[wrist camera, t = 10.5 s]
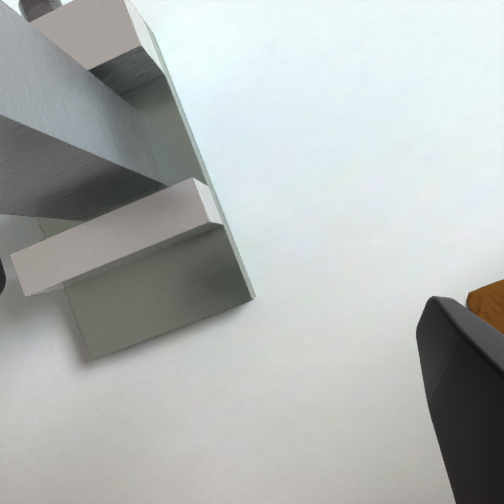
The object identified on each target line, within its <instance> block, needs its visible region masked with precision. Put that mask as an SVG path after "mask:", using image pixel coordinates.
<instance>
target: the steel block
mask: <svg viewBox="0 0 504 504" xmlns="http://www.w3.org/2000/svg"><path fill="white" fill-rule="evenodd" d="M162 185H164V181H163V178H162V176H161V173H160V171H159V168H158V165H157V163H156V160H155V157H154V155H153V152H152V149H151V147H150V144H149V142H148V139H147V136H146V134H145V131H144V128H143V126H142V123H141V120H140V118H139V115H138V113H137V110H136V109H135V108H134V107H132V106H131V105H130V104H129V103H127V102H126V101H125V100H124V99H122V98H121V97H120V96H119V95H118V94H116V93H115V92H114V91H113V90H111V89H110V88H109V87H108V86H106V85H105V84H104V83H103V82H102V81H100V80H99V79H98V78H97V77H95V76H94V75H93V74H92V73H90V72H89V71H88V70H87V69H86V68H84V67H83V66H82V65H81V64H79V63H78V62H77V61H76V60H74V59H73V58H72V57H71V56H70V55H68V54H67V53H66V52H65V51H63V50H62V49H61V48H60V47H58V46H57V45H56V44H55V43H54V42H52V41H51V40H50V39H49V38H47V37H46V36H45V35H44V34H42V33H41V32H40V31H39V30H38V29H36V28H35V27H34V26H33V25H31V24H30V23H29V22H28V21H26V20H25V19H24V18H23V17H22V16H20V15H19V14H18V13H17V12H15V11H14V10H13V9H12V8H10V7H9V6H8V5H7V4H6V3H4V2H3V1H2V0H0V214H9V215H20V216H31V217H42V218H53V219H64V220H75V221H77V220H80V219H82V218H85V217H87V216H89V215H92V214H94V213H97V212H99V211H101V210H104V209H106V208H109V207H111V206H113V205H116V204H118V203H121V202H123V201H126V200H128V199H130V198H133V197H135V196H138V195H140V194H142V193H145V192H147V191H150V190H152V189H154V188H157V187H159V186H162Z"/></svg>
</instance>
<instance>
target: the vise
mask: <svg viewBox="0 0 504 504" xmlns="http://www.w3.org/2000/svg"><path fill="white" fill-rule="evenodd" d="M19 9H20V12H21V15H22V17H23V18H24V19H25V20H26V21H28V22H29V23H30V24H31V25H33V26H34V27H35V28H36V29H38V30H39V31H40V32H41V33H42V34H44V35H45V36H46V37H47V38H49V39H50V40H51V41H52V42H54V43H55V44H56V45H57V46H58V47H60V48H61V49H62V50H63V51H65V52H66V53H67V54H68V55H70V56H71V57H72V58H73V59H74V60H76V61H77V62H78V63H79V64H81V65H82V66H83V67H84V68H86V69H87V70H88V71H89V72H90V73H92V74H93V75H94V76H95V77H97V78H98V79H99V80H100V81H102V82H103V83H104V84H105V85H106V86H108V87H109V88H110V89H111V90H113V91H114V92H115V93H116V94H118V95H119V96H120V97H121V98H122V99H124V100H125V101H126V102H127V103H129V104H130V105H131V106H132V107H134V108H135V109H136V110H137V113H138V115H139V118H140V120H141V123H142V126H143V128H144V131H145V134H146V136H147V139H148V142H149V144H150V147H151V149H152V152H153V155H154V157H155V160H156V163H157V165H158V168H159V171H160V173H161V176H162V178H163V181H164V185H162V186H159V187H157V188H154V189H152V190H150V191H147V192H145V193H142V194H140V195H138V196H135V197H133V198H130V199H128V200H126V201H123V202H121V203H118V204H116V205H113V206H111V207H109V208H106V209H104V210H101V211H99V212H97V213H94V214H92V215H89V216H87V217H85V218H82V219H80V220H77V221H75V220H64V219H53V218H42V217H37V219H38V221H39V224H40V226H41V229H42V232H43V234H44V237H45V240H43V241H40V242H38V243H36V244H33V245H31V246H29V247H26V248H24V249H21V250H19V251H17V252H14V253H12V254H10V258H11V261H12V263H13V266H14V268H15V271H16V274H17V276H18V279H19V282H20V284H21V287H22V290H23V292H24V295H25V297H26V296H30V295H35V294H40V293H45V292H50V291H55V290H59V289H65V292H66V295H67V297H68V300H69V302H70V305H71V308H72V310H73V313H74V315H75V318H76V321H77V323H78V326H79V329H80V331H81V334H82V336H83V339H84V342H85V344H86V347H87V350H88V352H89V355H90V357H91V360H95V359H97V358H100V357H103V356H105V355H108V354H111V353H113V352H116V351H119V350H121V349H124V348H126V347H129V346H132V345H134V344H137V343H140V342H142V341H145V340H148V339H150V338H153V337H156V336H158V335H161V334H164V333H166V332H169V331H172V330H174V329H177V328H180V327H182V326H185V325H188V324H190V323H193V322H196V321H198V320H201V319H203V318H206V317H209V316H211V315H214V314H217V313H219V312H222V311H225V310H227V309H230V308H233V307H235V306H238V305H241V304H243V303H246V302H249V301H251V300H253V299H254V297H255V293H254V290H253V288H252V285H251V283H250V280H249V278H248V275H247V272H246V270H245V267H244V265H243V262H242V260H241V257H240V254H239V252H238V249H237V247H236V244H235V242H234V239H233V236H232V234H231V231H230V229H229V226H228V224H227V221H226V218H225V216H224V213H223V211H222V208H221V206H220V203H219V200H218V198H217V195H216V193H215V190H214V188H213V185H212V182H211V180H210V177H209V175H208V172H207V170H206V167H205V164H204V162H203V159H202V157H201V154H200V152H199V149H198V146H197V144H196V141H195V139H194V136H193V134H192V131H191V128H190V126H189V123H188V121H187V118H186V116H185V113H184V110H183V108H182V105H181V103H180V100H179V98H178V95H177V92H176V90H175V87H174V85H173V82H172V80H171V77H170V74H169V72H168V69H167V67H166V64H165V62H164V59H163V56H162V54H161V51H160V49H159V46H158V44H157V41H156V38H155V36H154V34H153V32H152V31H151V29H150V28H149V26H148V25H147V24H146V22H145V21H144V19H143V18H142V16H141V15H140V14H139V12H138V11H137V9H136V8H135V6H134V5H133V3H132V2H131V1H130V0H74V1H72V2H70V3H68V4H66V5H62V3H61V0H20V1H19Z"/></svg>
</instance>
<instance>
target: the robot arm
mask: <svg viewBox="0 0 504 504" xmlns="http://www.w3.org/2000/svg"><path fill="white" fill-rule="evenodd" d="M5 283H6V276H5V272H4V269H3V266H2V262H1V259H0V294H1V293H2V291H3V289H4V287H5ZM416 339H417V345H418V351H419V357H420V363H421V369H422V375H423V381H424V387H425V393H426V398H427V403H428V408H429V411H430V415H431V419H432V422H433V426H434V429H435V433H436V436H437V439H438V443H439V446H440V450H441V453H442V457H443V460H444V464H445V467H446V471H447V474H448V477H449V481H450V484H451V488H452V491H453V495H454V498H455V502H456V504H504V335H503V334H502V333H501V332H499V331H498V330H496V329H495V328H494V327H492V326H491V325H489V324H488V323H486V322H485V321H484V320H482V319H481V318H479V317H478V316H477V315H475V314H474V313H472V312H471V311H470V310H468V309H467V308H465V307H464V306H463V305H461V304H460V303H458V302H457V301H456V300H454V299H452V298H447V297H438V296H432V297H430V298H429V299H428V301H427V303H426V305H425V308H424V310H423V313H422V315H421V318H420V320H419V323H418V325H417V329H416Z"/></svg>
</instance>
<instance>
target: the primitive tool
mask: <svg viewBox="0 0 504 504" xmlns="http://www.w3.org/2000/svg"><path fill="white" fill-rule="evenodd" d="M467 303H468V305H469V308H470V311H471V312H472V313H474V314H475V315H477V316H478V317H479V318H481V319H482V320H484V321H485V322H486V323H488V324H489V325H491V326H492V327H494V328H495V329H496V330H498V331H499V332H501V333H502V334H503V335H504V280H500V281H497V282H495V283H492V284H490V285H487V286H484V287H482V288H480V289H477V290H476V291H473V292H470V293H469V295H468V298H467Z"/></svg>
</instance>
